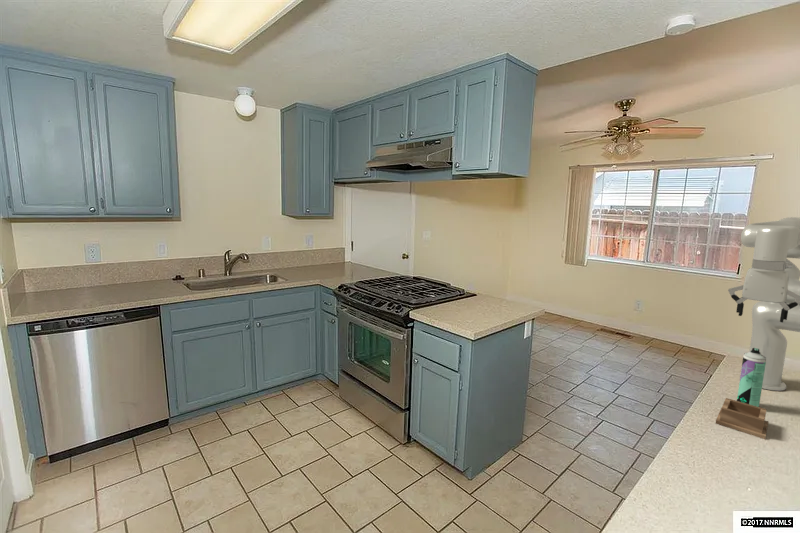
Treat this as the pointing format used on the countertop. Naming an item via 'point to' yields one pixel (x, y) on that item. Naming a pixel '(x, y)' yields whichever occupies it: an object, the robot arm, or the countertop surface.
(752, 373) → the spray can
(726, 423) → the can holder
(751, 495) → the countertop surface
